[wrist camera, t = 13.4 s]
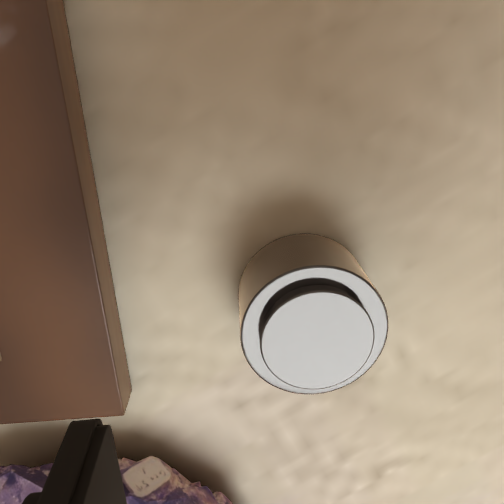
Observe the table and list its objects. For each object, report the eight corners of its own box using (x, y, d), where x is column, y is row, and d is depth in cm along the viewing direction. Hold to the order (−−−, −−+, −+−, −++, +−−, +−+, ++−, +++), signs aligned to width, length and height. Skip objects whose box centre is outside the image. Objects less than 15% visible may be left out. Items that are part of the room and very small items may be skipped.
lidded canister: (366, 228, 17) (399, 267, 13) (360, 341, 18) (389, 399, 15) (234, 237, 16) (236, 277, 13) (242, 349, 18) (244, 410, 15)
